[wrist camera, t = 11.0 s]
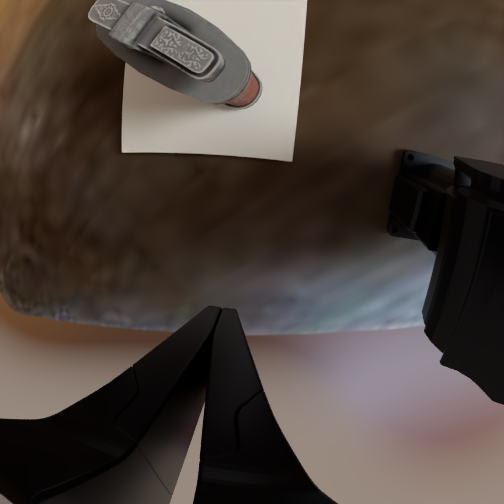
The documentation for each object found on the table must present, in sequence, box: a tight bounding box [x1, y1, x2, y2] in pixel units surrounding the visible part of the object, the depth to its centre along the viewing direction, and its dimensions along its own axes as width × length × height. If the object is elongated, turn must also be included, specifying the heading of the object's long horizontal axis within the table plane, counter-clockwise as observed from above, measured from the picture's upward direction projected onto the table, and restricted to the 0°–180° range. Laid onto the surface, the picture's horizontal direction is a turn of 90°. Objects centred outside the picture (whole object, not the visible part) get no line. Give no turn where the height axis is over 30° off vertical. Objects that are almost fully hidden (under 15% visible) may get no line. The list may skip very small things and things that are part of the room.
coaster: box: [122, 0, 307, 162], centre depth 16 cm, size 12×12×1 cm
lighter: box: [88, 0, 263, 110], centre depth 11 cm, size 8×3×10 cm, turn 51°
